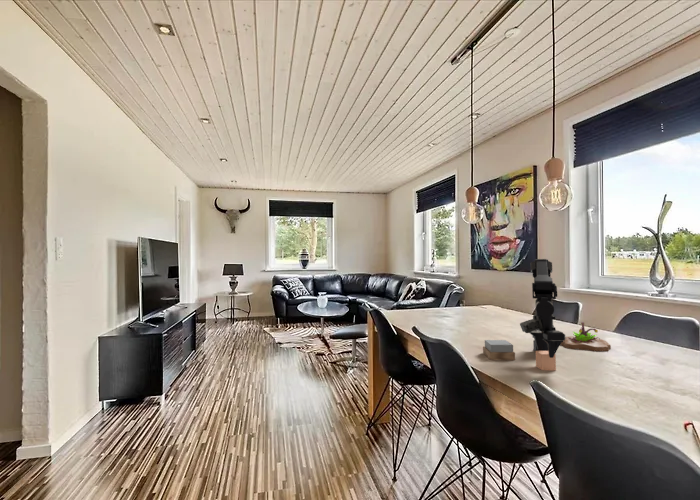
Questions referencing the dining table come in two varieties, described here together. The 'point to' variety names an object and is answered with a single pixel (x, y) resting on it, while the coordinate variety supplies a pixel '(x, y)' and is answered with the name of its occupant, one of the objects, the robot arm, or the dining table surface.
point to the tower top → (498, 346)
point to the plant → (585, 341)
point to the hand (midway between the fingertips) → (545, 354)
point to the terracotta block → (545, 361)
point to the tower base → (498, 355)
